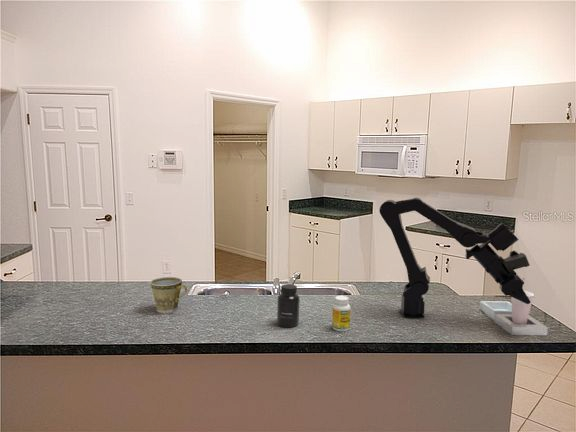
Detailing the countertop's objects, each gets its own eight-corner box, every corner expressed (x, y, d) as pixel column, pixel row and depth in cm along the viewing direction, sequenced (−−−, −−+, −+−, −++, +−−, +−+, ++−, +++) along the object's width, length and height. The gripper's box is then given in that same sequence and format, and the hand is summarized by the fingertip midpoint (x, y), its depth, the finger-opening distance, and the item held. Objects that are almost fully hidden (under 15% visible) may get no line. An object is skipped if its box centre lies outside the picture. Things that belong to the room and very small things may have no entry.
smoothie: (530, 321, 127) (534, 277, 125) (532, 328, 122) (537, 283, 120) (506, 317, 130) (511, 274, 128) (508, 324, 124) (512, 280, 122)
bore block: (511, 335, 121) (512, 327, 120) (493, 321, 131) (494, 313, 131) (546, 335, 121) (547, 327, 121) (526, 321, 131) (527, 314, 131)
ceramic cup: (144, 312, 134) (143, 283, 133) (164, 303, 144) (163, 275, 142) (177, 318, 130) (176, 288, 128) (195, 308, 139) (195, 279, 137)
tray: (493, 320, 132) (494, 311, 132) (479, 309, 142) (480, 301, 141) (523, 320, 132) (524, 311, 132) (507, 309, 142) (508, 301, 141)
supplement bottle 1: (283, 329, 122) (283, 290, 121) (273, 321, 128) (273, 284, 127) (303, 325, 126) (303, 287, 124) (292, 318, 132) (293, 281, 130)
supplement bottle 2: (342, 323, 128) (342, 293, 127) (353, 329, 123) (354, 298, 122) (328, 327, 125) (329, 296, 124) (340, 333, 120) (341, 301, 119)
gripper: (519, 250, 115) (560, 293, 113) (507, 238, 132) (542, 275, 131) (485, 274, 119) (524, 316, 117) (478, 260, 136) (512, 296, 134)
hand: (526, 299), depth 124 cm, fingers closed on smoothie, 6 cm apart
